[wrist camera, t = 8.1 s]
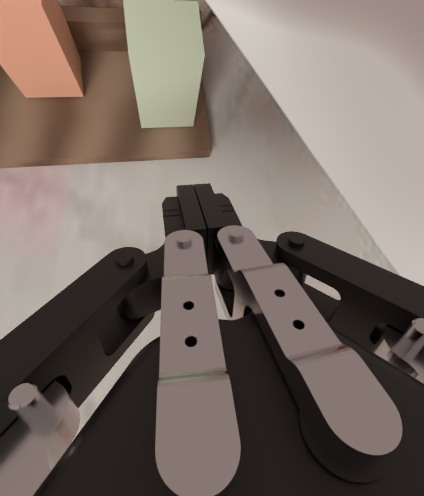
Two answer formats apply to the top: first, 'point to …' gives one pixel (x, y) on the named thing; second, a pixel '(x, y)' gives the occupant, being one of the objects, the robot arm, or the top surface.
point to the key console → (93, 108)
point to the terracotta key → (39, 49)
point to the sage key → (165, 60)
